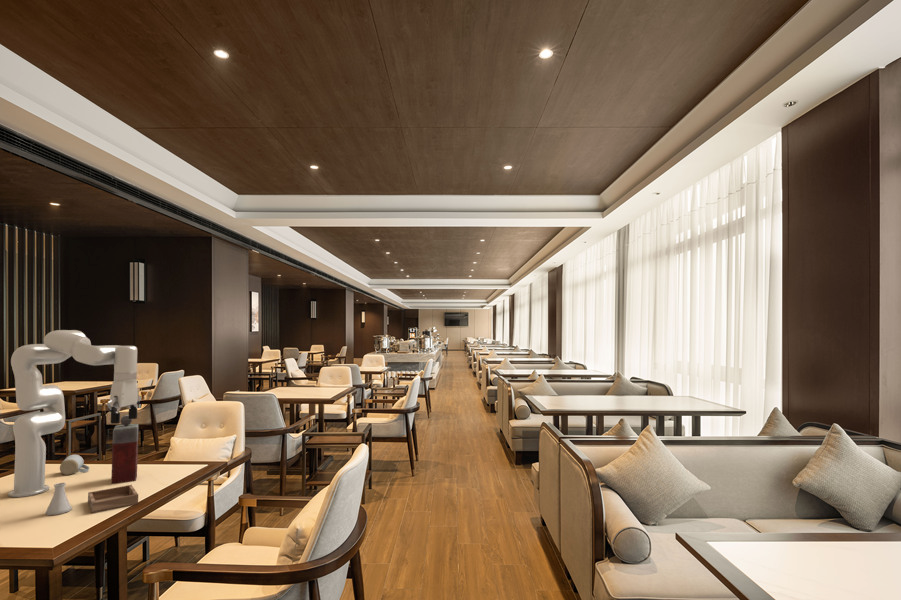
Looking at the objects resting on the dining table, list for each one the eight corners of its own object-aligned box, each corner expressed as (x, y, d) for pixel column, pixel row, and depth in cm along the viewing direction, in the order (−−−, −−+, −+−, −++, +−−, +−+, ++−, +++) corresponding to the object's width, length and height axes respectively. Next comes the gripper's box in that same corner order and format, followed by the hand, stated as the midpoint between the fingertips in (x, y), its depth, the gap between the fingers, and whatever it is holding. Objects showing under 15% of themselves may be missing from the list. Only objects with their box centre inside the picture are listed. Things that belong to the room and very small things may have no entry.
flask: (57, 516, 173) (58, 487, 174) (40, 515, 174) (41, 486, 175) (76, 509, 180) (77, 481, 181) (60, 507, 182) (61, 480, 182)
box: (87, 501, 188) (88, 492, 188) (131, 493, 197) (131, 484, 197) (92, 513, 176) (92, 503, 176) (138, 504, 185) (138, 494, 185)
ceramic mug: (58, 476, 221) (59, 459, 222) (63, 471, 228) (64, 455, 229) (86, 474, 225) (87, 456, 226) (91, 469, 233) (92, 452, 233)
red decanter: (137, 474, 223) (139, 412, 225) (135, 480, 214) (137, 415, 215) (113, 477, 219) (115, 414, 221) (111, 484, 209) (113, 417, 211)
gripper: (131, 375, 202) (130, 417, 201) (99, 379, 185) (98, 425, 184) (149, 375, 202) (148, 417, 201) (118, 379, 185) (117, 425, 184)
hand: (124, 421), depth 193 cm, fingers open, 9 cm apart
